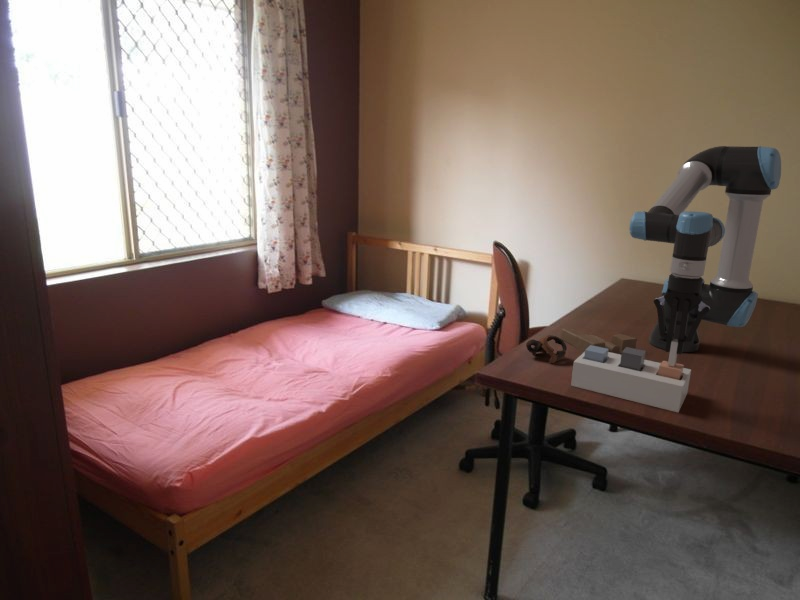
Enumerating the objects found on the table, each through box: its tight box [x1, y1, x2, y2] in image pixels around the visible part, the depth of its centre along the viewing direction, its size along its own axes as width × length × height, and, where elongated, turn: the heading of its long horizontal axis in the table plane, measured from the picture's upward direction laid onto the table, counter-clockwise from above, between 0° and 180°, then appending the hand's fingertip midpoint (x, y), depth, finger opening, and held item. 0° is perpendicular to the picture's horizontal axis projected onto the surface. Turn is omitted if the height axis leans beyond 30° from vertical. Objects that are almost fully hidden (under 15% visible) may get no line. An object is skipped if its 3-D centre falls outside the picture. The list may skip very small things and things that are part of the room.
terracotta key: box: [658, 360, 685, 380], centre depth 147 cm, size 5×5×5 cm
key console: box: [570, 352, 692, 413], centre depth 153 cm, size 27×14×7 cm, turn 56°
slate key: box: [584, 345, 609, 363], centre depth 158 cm, size 5×5×5 cm
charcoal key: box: [620, 347, 647, 371], centre depth 152 cm, size 5×5×5 cm
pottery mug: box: [525, 335, 567, 365], centre depth 175 cm, size 12×10×8 cm
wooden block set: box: [560, 327, 637, 354], centre depth 188 cm, size 17×6×18 cm
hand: (671, 364), depth 147 cm, fingers closed
